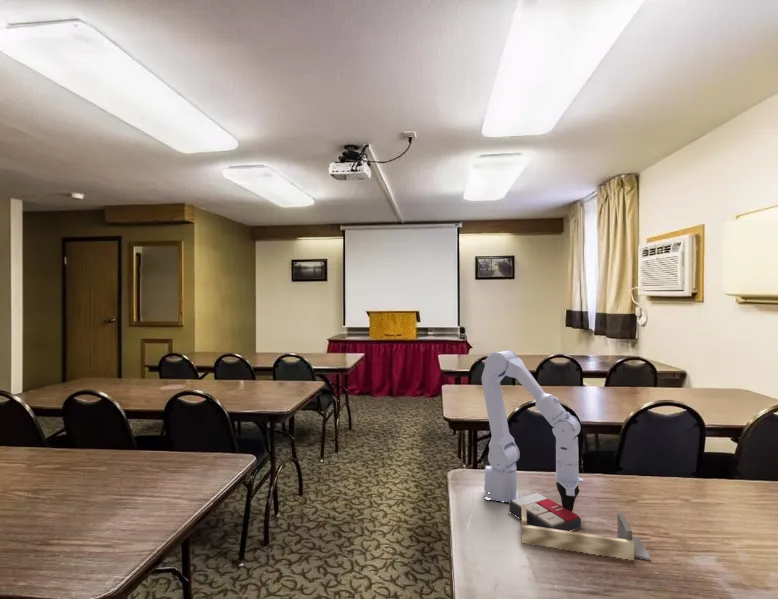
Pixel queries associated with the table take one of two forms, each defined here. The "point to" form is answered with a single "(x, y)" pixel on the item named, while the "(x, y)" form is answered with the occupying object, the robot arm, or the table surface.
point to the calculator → (545, 513)
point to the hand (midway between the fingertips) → (567, 511)
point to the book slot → (586, 540)
